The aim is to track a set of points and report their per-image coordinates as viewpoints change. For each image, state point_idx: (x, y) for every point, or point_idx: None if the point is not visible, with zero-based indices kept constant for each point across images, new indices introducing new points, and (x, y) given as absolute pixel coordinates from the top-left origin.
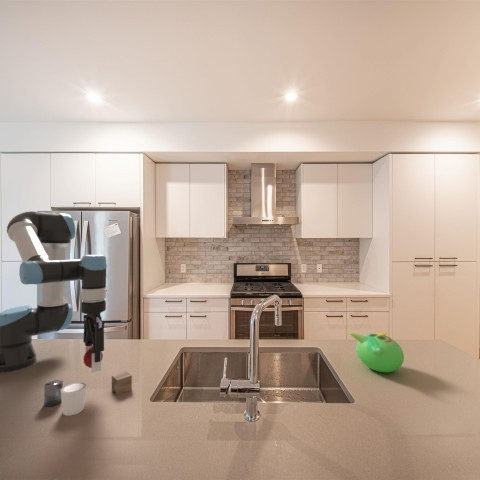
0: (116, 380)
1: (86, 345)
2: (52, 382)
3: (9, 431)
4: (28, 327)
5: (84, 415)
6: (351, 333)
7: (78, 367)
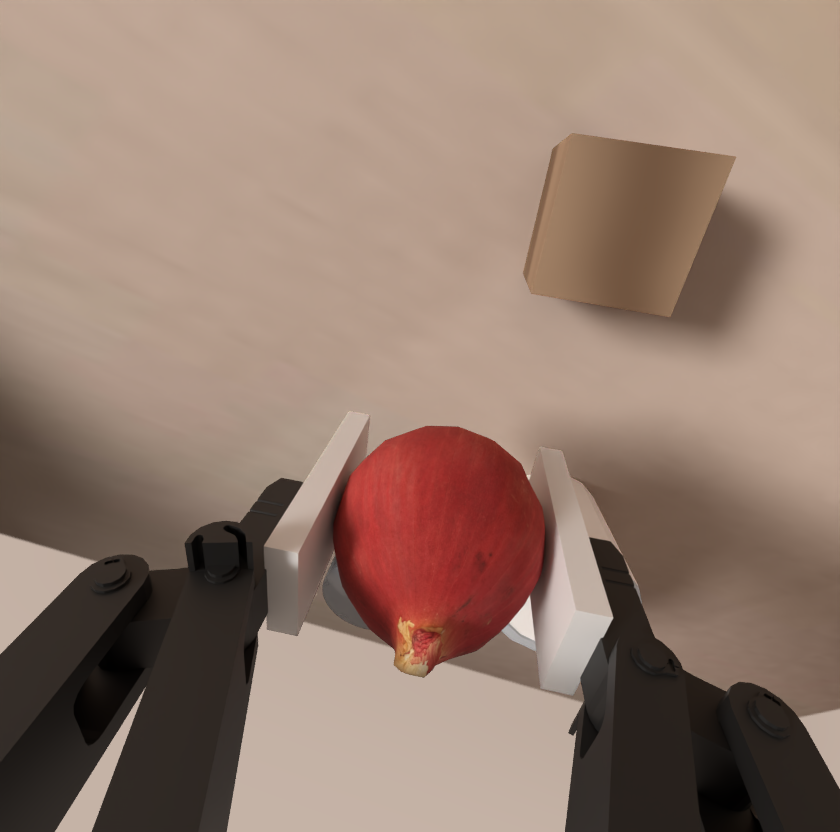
0: (646, 311)
1: (257, 634)
2: (343, 593)
3: (477, 663)
4: None
5: (645, 508)
6: None
7: (6, 248)
